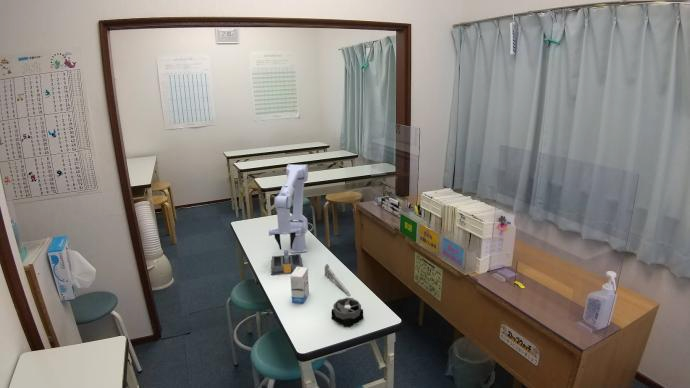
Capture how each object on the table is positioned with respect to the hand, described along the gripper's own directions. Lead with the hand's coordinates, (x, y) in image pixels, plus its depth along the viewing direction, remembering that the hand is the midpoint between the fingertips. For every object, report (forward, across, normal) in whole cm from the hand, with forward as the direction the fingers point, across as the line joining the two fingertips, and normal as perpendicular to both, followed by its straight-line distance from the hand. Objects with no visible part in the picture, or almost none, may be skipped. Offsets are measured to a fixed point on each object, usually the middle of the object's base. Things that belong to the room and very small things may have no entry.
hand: (285, 248), depth 184 cm
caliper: (+10, +20, -21) cm, 31 cm away
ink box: (+10, +4, -28) cm, 30 cm away
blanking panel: (+9, 0, 0) cm, 9 cm away
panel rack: (+9, 0, 0) cm, 9 cm away
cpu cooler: (+10, +21, -45) cm, 51 cm away
